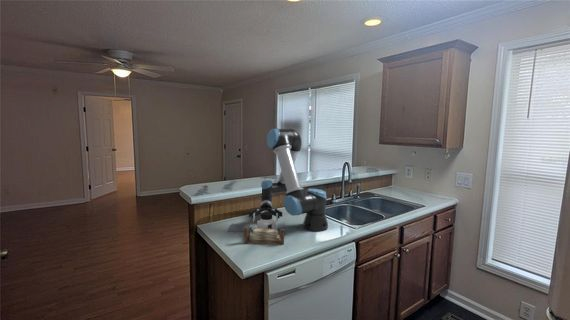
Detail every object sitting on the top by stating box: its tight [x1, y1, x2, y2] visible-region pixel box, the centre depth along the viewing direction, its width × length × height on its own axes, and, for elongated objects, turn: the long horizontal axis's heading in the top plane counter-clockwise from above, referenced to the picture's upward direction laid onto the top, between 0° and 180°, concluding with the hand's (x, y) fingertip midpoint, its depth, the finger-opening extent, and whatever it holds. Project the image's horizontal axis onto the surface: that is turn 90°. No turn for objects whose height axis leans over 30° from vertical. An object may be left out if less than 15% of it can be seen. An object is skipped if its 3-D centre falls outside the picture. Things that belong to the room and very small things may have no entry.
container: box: [256, 211, 277, 230], centre depth 150 cm, size 8×8×13 cm
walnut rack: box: [243, 226, 285, 246], centre depth 146 cm, size 21×17×8 cm
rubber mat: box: [227, 223, 251, 233], centre depth 158 cm, size 11×11×1 cm
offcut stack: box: [249, 227, 280, 241], centre depth 141 cm, size 16×5×4 cm, turn 88°
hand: (265, 219), depth 153 cm, fingers open, 13 cm apart
